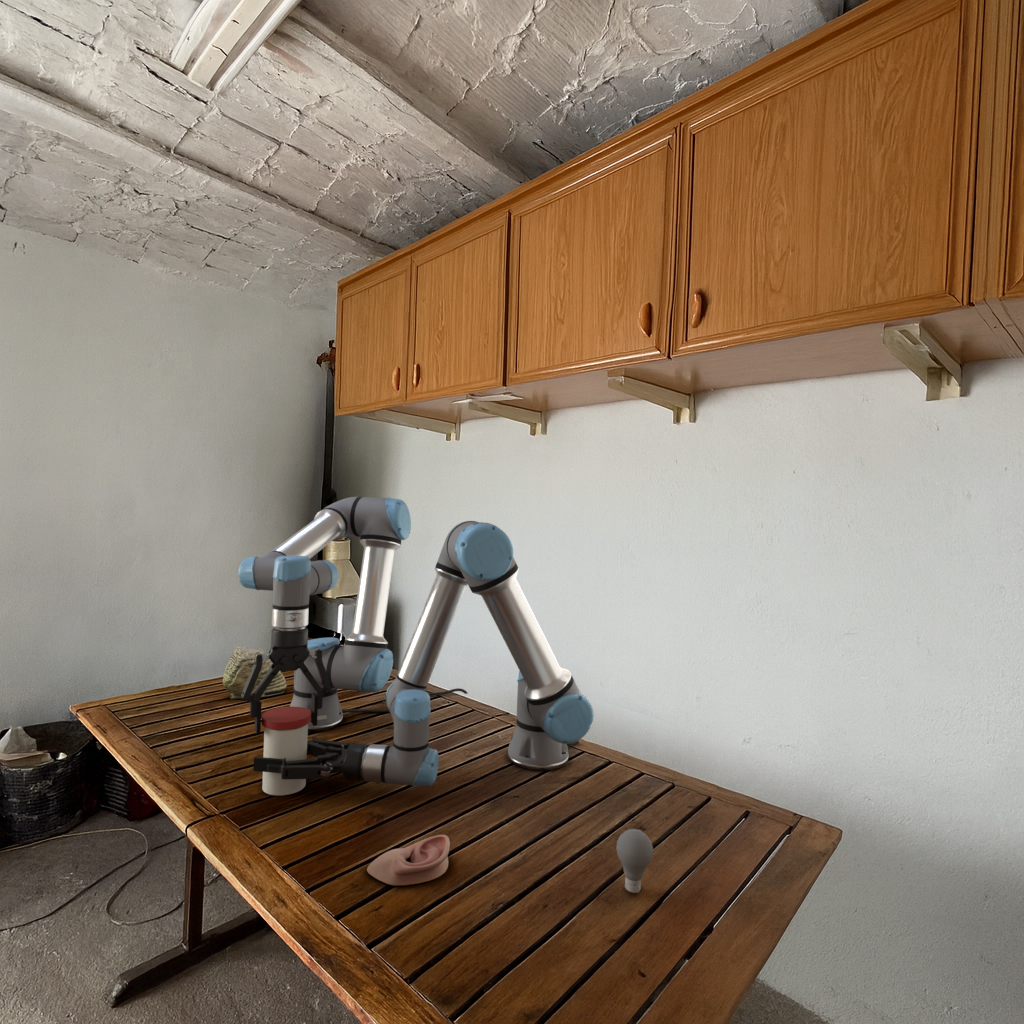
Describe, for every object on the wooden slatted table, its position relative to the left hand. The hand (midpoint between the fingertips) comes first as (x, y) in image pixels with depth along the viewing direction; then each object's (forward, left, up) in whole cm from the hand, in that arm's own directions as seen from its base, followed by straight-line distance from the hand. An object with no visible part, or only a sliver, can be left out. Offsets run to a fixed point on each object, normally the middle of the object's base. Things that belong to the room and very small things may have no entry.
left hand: (286, 727), depth 138 cm
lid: (0, 0, +3) cm, 3 cm away
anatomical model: (+2, +43, -13) cm, 45 cm away
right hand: (+2, -4, -6) cm, 8 cm away
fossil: (-28, -62, -13) cm, 69 cm away
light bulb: (-18, +75, -13) cm, 78 cm away
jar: (0, 0, -13) cm, 13 cm away
